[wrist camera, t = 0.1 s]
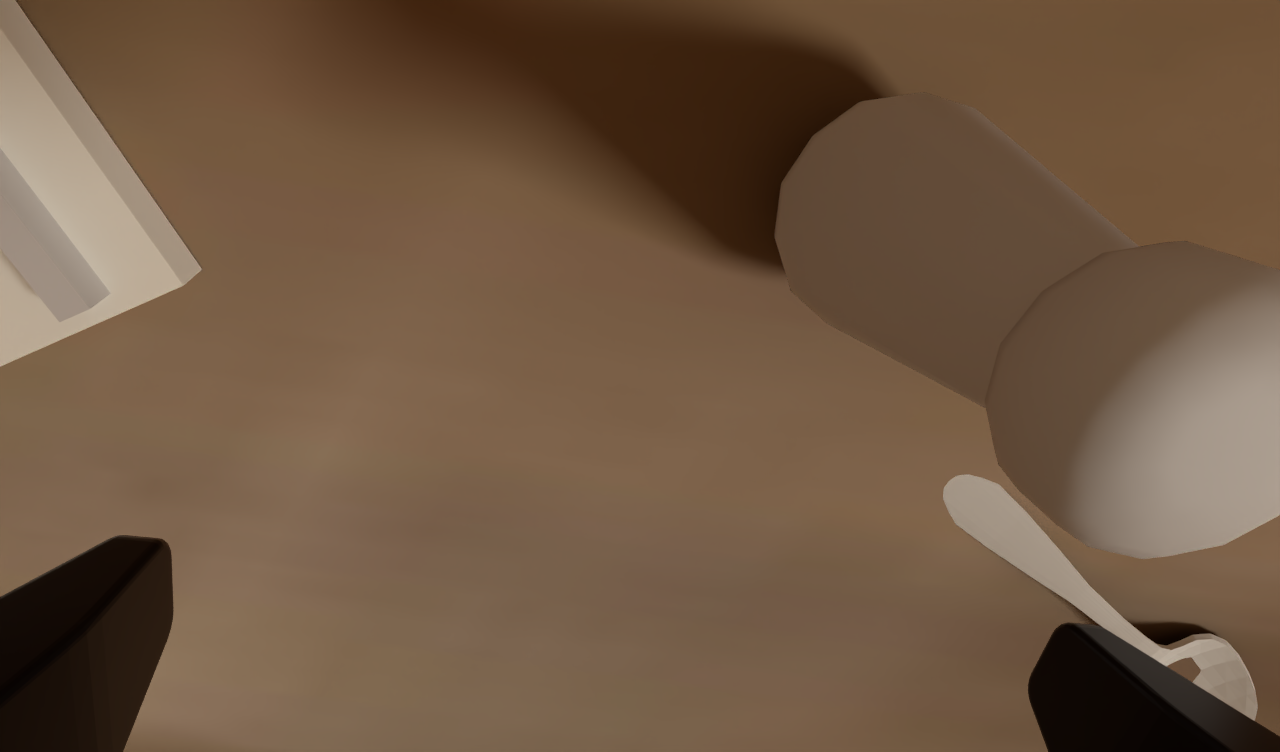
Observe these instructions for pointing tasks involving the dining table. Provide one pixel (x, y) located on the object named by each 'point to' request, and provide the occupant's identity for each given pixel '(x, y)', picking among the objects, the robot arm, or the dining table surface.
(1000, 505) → the spoon
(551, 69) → the dining table surface
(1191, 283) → the salt shaker
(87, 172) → the gauge board
